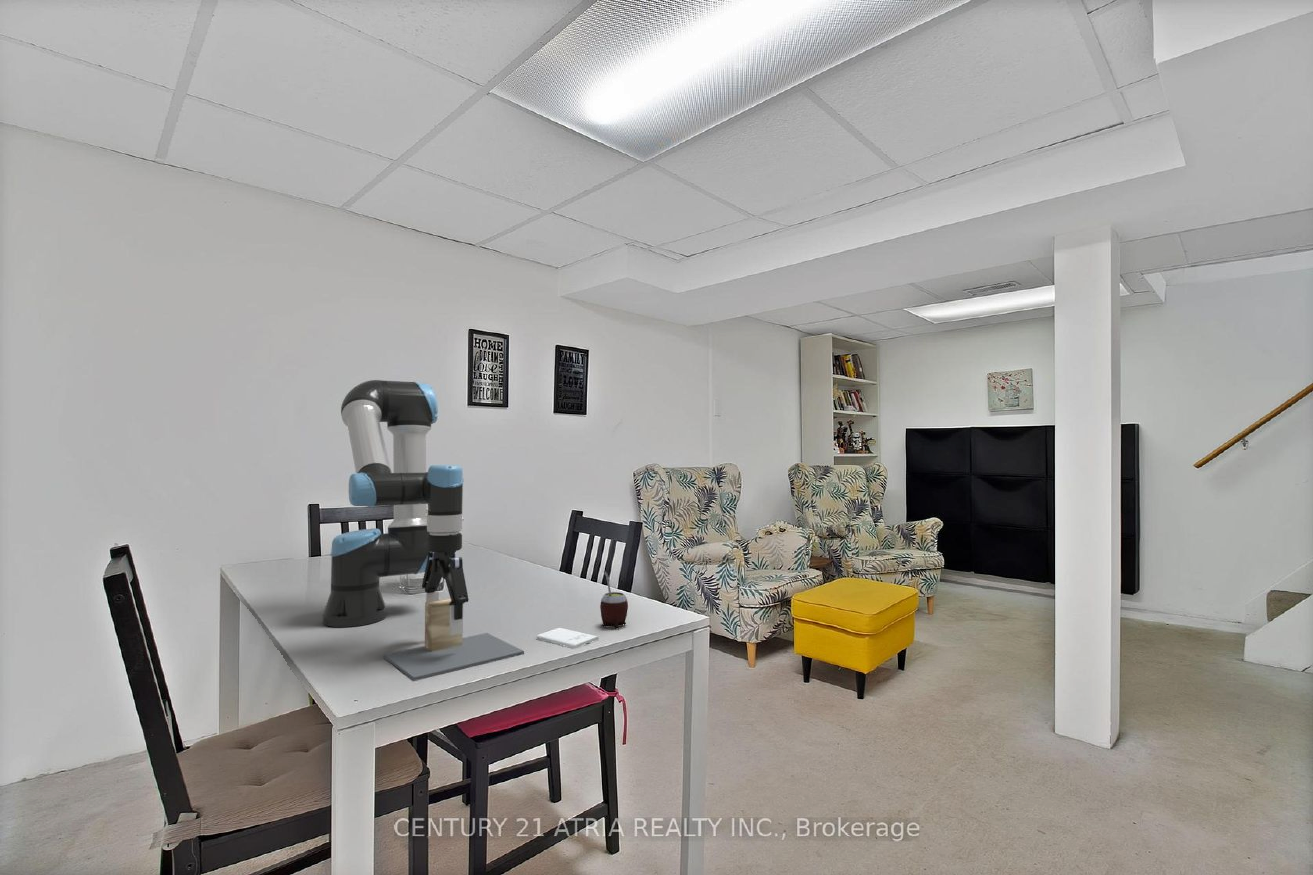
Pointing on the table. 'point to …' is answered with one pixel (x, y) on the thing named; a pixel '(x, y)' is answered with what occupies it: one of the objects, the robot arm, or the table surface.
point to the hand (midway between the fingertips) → (443, 627)
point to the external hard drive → (567, 637)
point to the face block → (439, 626)
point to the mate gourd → (613, 607)
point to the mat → (452, 656)
